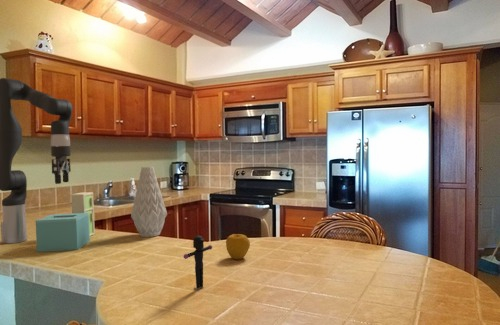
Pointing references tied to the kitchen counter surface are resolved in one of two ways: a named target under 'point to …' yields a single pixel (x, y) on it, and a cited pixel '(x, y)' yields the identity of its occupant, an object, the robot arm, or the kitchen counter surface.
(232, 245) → the apple
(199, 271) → the figurine
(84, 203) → the toy refrigerator
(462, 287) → the kitchen counter surface
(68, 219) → the coin box
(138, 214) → the vase
